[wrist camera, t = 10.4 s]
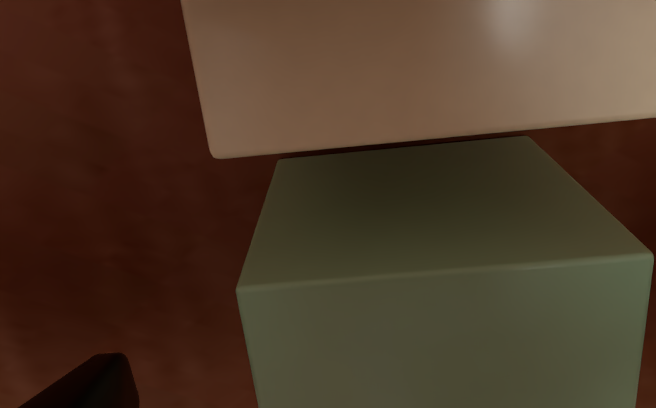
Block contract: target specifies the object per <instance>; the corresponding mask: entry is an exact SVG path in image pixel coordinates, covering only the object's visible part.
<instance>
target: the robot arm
mask: <svg viewBox="0 0 656 408" xmlns="http://www.w3.org/2000/svg"><path fill="white" fill-rule="evenodd" d="M18 408H139V395H138V391H137V388H136V384H135V381H134V378H133V374H132V371H131V368H130V364H129V361H128V359H127V357H126V356H125V355H124V354H123V353H120V352H118V353H104V354H97V355H94V356H93V357H91V358H90V359H88V360H87V361H85V362H84V363H82V364H81V365H79V366H78V367H77V368H75V369H74V370H72V371H71V372H69V373H68V374H66V375H65V376H63V377H62V378H61V379H59V380H58V381H56V382H55V383H53V384H52V385H50V386H49V387H47V388H46V389H44V390H43V391H42V392H40V393H39V394H37V395H36V396H34V397H33V398H31V399H30V400H28V401H27V402H26V403H24V404H23V405H21V406H20V407H18Z"/></svg>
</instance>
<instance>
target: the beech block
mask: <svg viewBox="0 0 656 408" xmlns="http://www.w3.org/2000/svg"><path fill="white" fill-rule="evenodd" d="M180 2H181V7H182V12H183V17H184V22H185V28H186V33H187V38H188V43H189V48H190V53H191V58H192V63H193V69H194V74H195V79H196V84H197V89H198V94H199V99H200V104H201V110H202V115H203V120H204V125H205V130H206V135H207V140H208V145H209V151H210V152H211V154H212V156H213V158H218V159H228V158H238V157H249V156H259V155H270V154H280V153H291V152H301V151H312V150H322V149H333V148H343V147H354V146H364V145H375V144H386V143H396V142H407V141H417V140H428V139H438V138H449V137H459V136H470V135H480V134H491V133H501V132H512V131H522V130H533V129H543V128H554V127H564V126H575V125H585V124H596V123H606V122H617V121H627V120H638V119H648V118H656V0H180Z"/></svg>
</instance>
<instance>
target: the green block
mask: <svg viewBox="0 0 656 408" xmlns="http://www.w3.org/2000/svg"><path fill="white" fill-rule="evenodd" d="M653 264H654V256H653V253H652V252H651V251H650V250H649V249H648V248H647V247H646V246H645V245H644V244H643V243H641V242H640V241H639V240H638V239H637V238H636V237H635V236H634V235H633V234H632V233H631V232H630V231H629V230H628V229H627V228H626V227H624V226H623V225H622V224H621V223H620V222H619V221H618V220H617V219H616V218H615V217H614V216H613V215H612V214H611V213H610V212H608V211H607V210H606V209H605V208H604V207H603V206H602V205H601V204H600V203H599V202H598V201H597V200H596V199H595V198H594V197H593V196H591V195H590V194H589V193H588V192H587V191H586V190H585V189H584V188H583V187H582V186H581V185H580V184H579V183H578V182H577V181H576V180H574V179H573V178H572V177H571V176H570V175H569V174H568V173H567V172H566V171H565V170H564V169H563V168H562V167H561V166H560V165H558V164H557V163H556V162H555V161H554V160H553V159H552V158H551V157H550V156H549V155H548V154H547V153H546V152H545V151H544V150H543V149H541V148H540V147H539V146H538V145H537V144H536V143H535V142H534V141H533V140H532V139H531V138H530V137H529V136H517V137H507V138H496V139H486V140H475V141H465V142H455V143H444V144H434V145H423V146H413V147H402V148H392V149H381V150H371V151H361V152H350V153H340V154H329V155H319V156H308V157H298V158H287V159H280V160H278V162H277V165H276V168H275V171H274V174H273V177H272V180H271V183H270V186H269V189H268V192H267V195H266V198H265V201H264V204H263V207H262V211H261V214H260V217H259V220H258V223H257V226H256V229H255V232H254V235H253V238H252V241H251V244H250V247H249V250H248V253H247V256H246V259H245V262H244V265H243V269H242V272H241V275H240V278H239V281H238V284H237V287H236V296H237V301H238V306H239V311H240V316H241V321H242V326H243V331H244V336H245V341H246V346H247V352H248V357H249V362H250V367H251V372H252V377H253V382H254V387H255V392H256V397H257V402H258V407H259V408H635V405H636V397H637V389H638V382H639V374H640V366H641V358H642V350H643V342H644V335H645V327H646V319H647V311H648V303H649V295H650V288H651V280H652V272H653Z"/></svg>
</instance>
